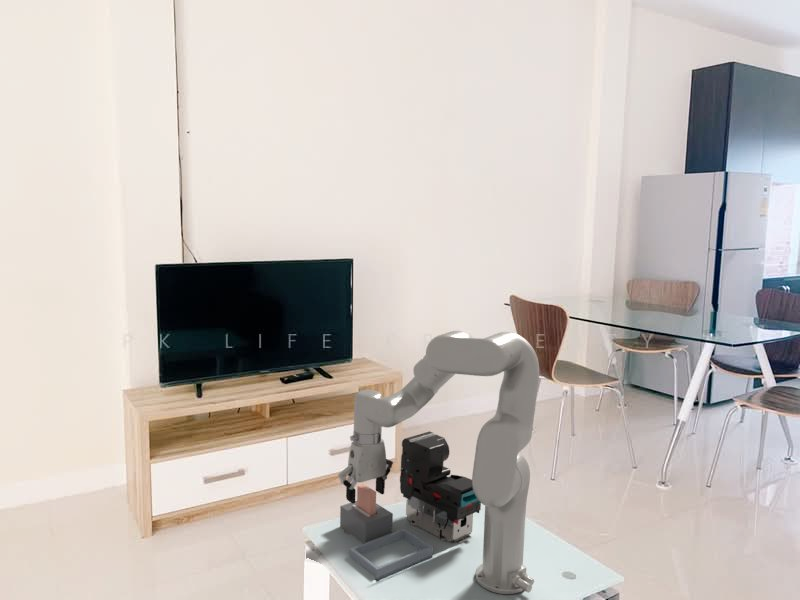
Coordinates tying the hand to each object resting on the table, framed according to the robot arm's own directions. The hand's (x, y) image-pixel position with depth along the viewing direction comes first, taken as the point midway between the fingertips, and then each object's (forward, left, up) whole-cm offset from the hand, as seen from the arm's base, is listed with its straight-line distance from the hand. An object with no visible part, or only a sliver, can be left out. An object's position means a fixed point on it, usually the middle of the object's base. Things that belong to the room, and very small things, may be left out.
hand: (365, 496), depth 164 cm
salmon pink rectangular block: (0, 0, -10) cm, 10 cm away
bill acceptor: (-10, -18, -11) cm, 23 cm away
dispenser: (0, 0, -11) cm, 11 cm away
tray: (-14, +2, -11) cm, 18 cm away
